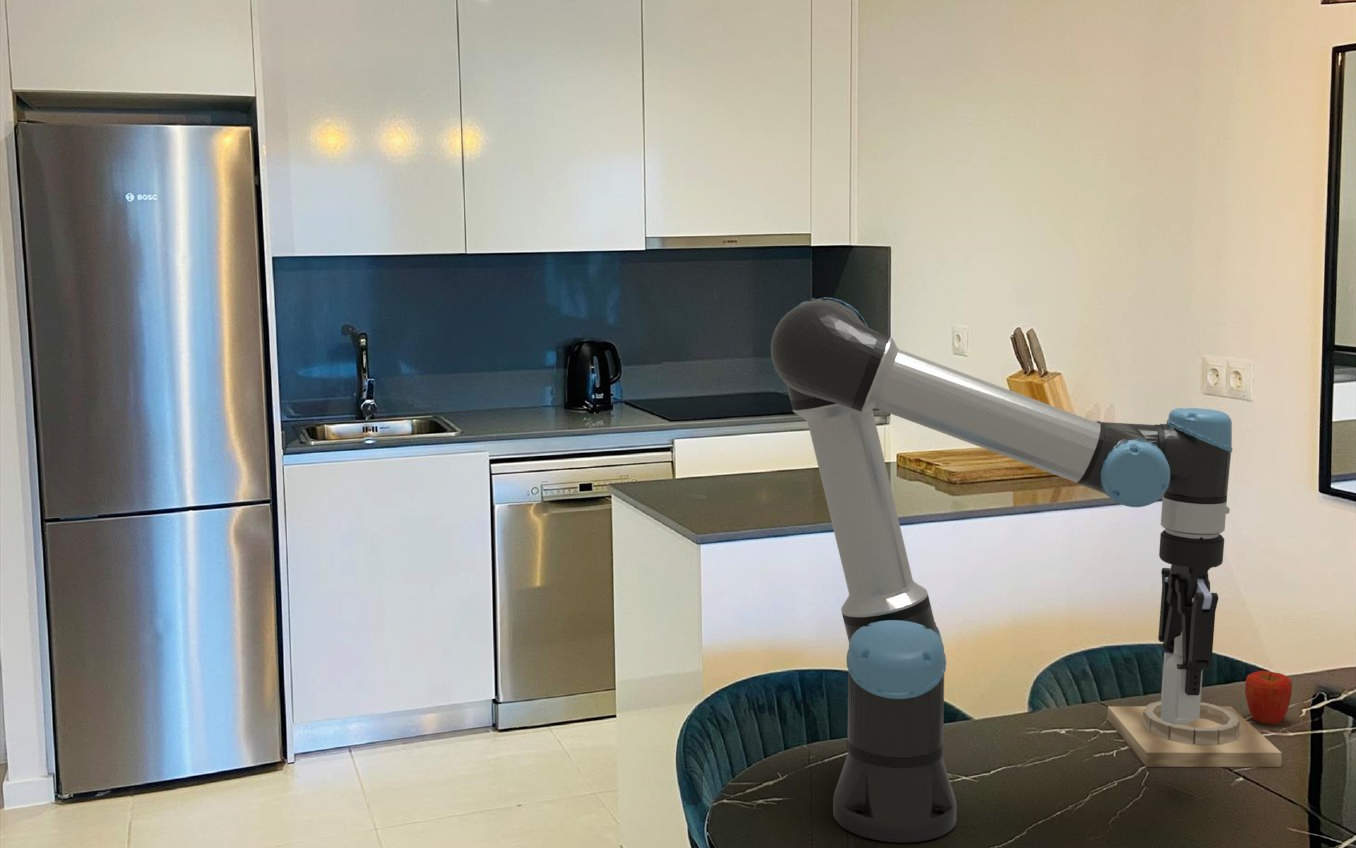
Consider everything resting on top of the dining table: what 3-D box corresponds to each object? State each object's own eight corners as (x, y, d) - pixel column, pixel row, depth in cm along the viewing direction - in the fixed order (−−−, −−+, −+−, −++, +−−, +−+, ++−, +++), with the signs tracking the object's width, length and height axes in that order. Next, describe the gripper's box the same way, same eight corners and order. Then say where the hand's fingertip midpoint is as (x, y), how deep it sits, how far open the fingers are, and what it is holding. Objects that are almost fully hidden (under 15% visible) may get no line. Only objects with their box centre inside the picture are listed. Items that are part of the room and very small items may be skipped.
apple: (1255, 730, 191) (1257, 680, 190) (1236, 715, 197) (1238, 666, 196) (1298, 729, 191) (1300, 679, 190) (1277, 714, 198) (1280, 666, 197)
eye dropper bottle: (1208, 724, 168) (1215, 632, 166) (1168, 726, 167) (1174, 634, 165) (1190, 712, 172) (1196, 623, 170) (1150, 714, 171) (1156, 624, 169)
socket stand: (1146, 766, 178) (1147, 738, 178) (1107, 719, 196) (1108, 693, 196) (1280, 767, 178) (1282, 738, 177) (1229, 719, 196) (1231, 693, 195)
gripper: (1251, 549, 157) (1236, 736, 160) (1197, 517, 175) (1184, 686, 178) (1187, 547, 157) (1174, 734, 160) (1139, 516, 175) (1128, 685, 178)
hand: (1179, 709), depth 169 cm, fingers closed on eye dropper bottle, 5 cm apart
